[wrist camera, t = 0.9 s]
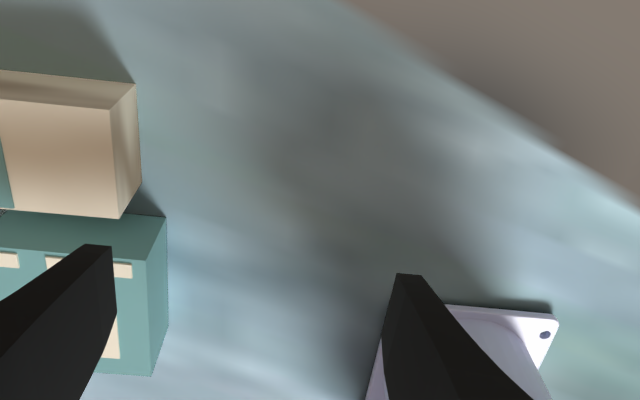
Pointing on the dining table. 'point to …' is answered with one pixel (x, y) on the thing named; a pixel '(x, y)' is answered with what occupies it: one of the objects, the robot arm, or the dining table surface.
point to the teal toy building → (129, 273)
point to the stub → (68, 144)
